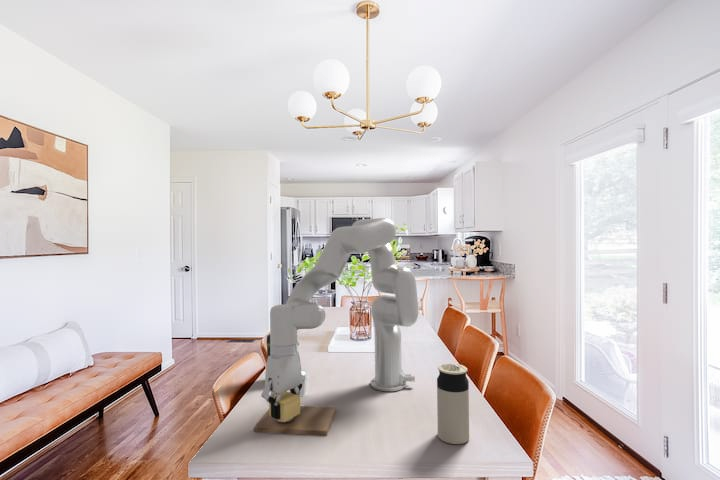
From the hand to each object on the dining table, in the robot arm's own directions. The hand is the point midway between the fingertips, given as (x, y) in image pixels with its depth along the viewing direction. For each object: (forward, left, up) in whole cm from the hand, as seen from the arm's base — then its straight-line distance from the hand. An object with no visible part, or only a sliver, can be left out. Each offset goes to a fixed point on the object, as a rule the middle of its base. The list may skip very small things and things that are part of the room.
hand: (284, 412), depth 105 cm
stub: (0, 0, -2) cm, 2 cm away
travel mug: (-46, +3, -3) cm, 46 cm away
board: (-3, -2, -3) cm, 5 cm away
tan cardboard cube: (0, 0, -1) cm, 1 cm away
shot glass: (+2, -21, -3) cm, 21 cm away
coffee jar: (+12, -31, -3) cm, 33 cm away
